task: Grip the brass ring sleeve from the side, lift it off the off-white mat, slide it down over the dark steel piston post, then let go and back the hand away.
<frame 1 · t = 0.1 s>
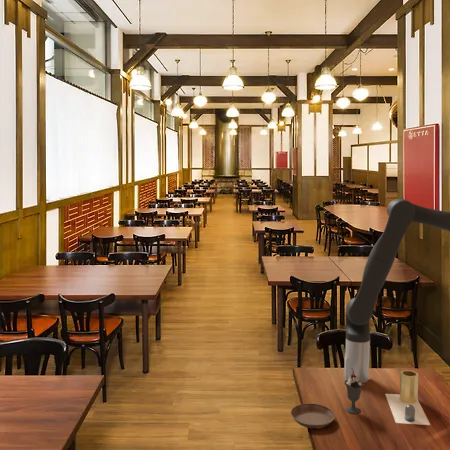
mat: (406, 411, 187), on the table
saucer: (312, 421, 181), on the table
post: (409, 422, 180), resting on mat
sundae: (353, 411, 188), on the table
sleeve: (408, 399, 194), point 1 cm above the table, touching mat
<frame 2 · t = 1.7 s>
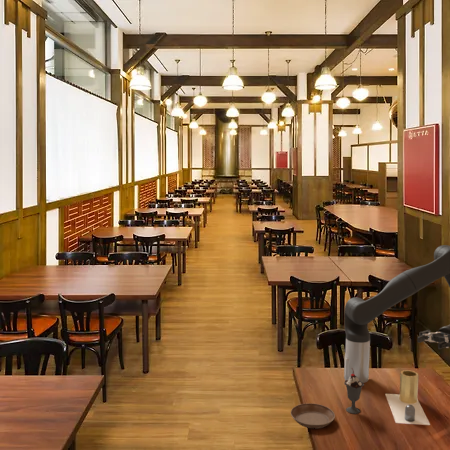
hand: (428, 343, 198), 20 cm above the table, tool horizontal, fingers open, 8 cm apart
nothing on the table moved.
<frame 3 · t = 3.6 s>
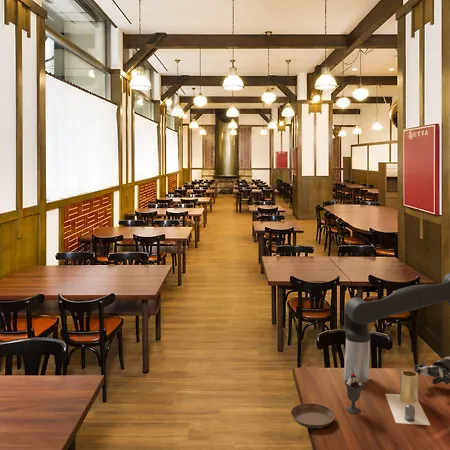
hand: (423, 377, 198), 7 cm above the table, tool horizontal, fingers open, 8 cm apart
nothing on the table moved.
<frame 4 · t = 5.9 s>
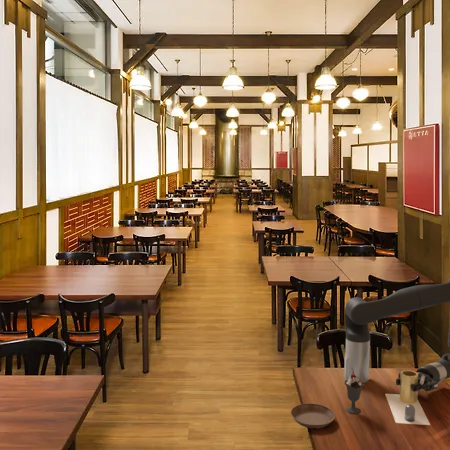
hand: (404, 385, 192), 7 cm above the table, tool horizontal, fingers closed on sleeve, 6 cm apart
sleeve: (408, 399, 194), point 1 cm above the table, touching gripper, mat
everything else where it was.
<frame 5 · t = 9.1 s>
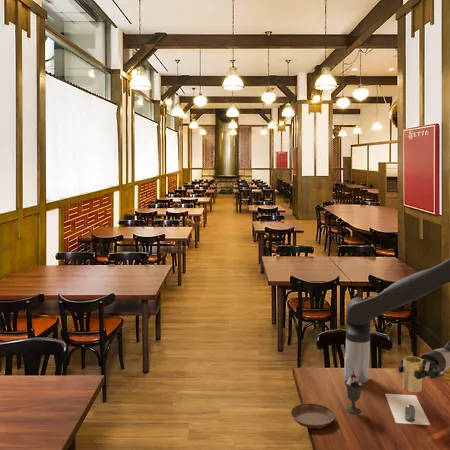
hand: (408, 372, 176), 18 cm above the table, tool horizontal, fingers closed on sleeve, 6 cm apart
sleeve: (411, 388, 178), point 12 cm above the table, touching gripper
everything else where it was.
when the fingers open (8 cm above the table, at t = 12.0 s): sleeve drops 1 cm, resting on mat.
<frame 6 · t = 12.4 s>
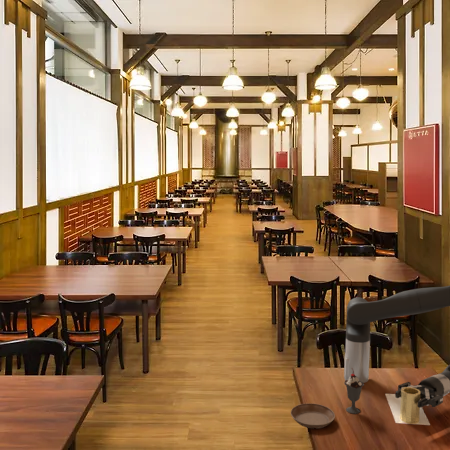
hand: (407, 399, 177), 9 cm above the table, tool horizontal, fingers open, 8 cm apart
sleeve: (409, 419, 180), point 1 cm above the table, touching mat
everything else where it was.
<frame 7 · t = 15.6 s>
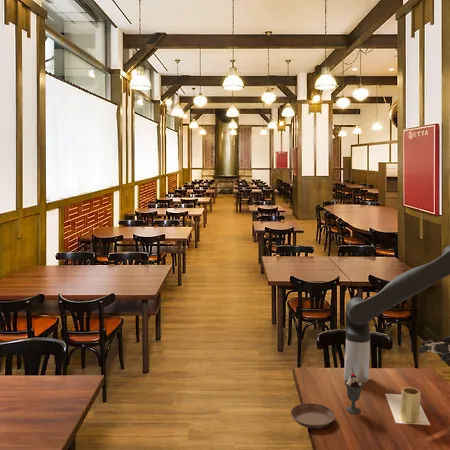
hand: (431, 354, 183), 21 cm above the table, tool horizontal, fingers open, 8 cm apart
nothing on the table moved.
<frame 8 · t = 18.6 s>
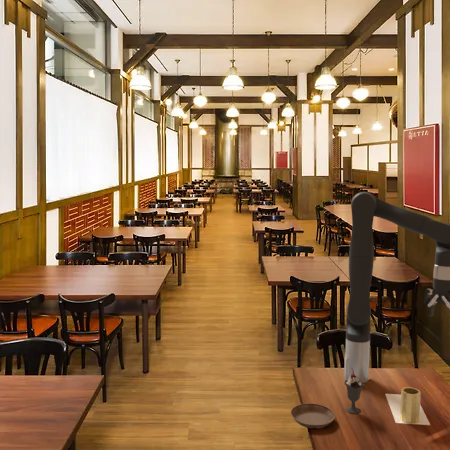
hand: (441, 319, 200), 28 cm above the table, tool pointing down, fingers open, 8 cm apart
nothing on the table moved.
at the end: sleeve 0.1 cm off-centre on the post, point 1.0 cm above the post's base; sleeve tilted 0°; the gripper is holding nothing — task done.
